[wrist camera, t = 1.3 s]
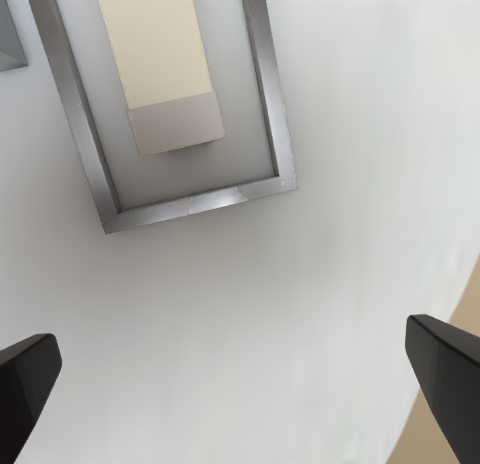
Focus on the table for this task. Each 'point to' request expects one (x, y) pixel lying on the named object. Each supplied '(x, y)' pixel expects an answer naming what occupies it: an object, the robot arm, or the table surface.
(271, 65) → the holder frame
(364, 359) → the table surface
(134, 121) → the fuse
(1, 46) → the tray
